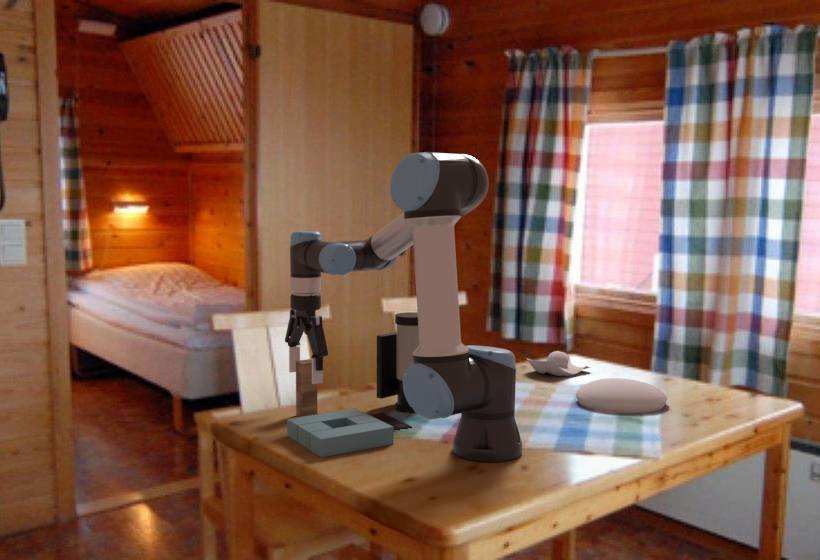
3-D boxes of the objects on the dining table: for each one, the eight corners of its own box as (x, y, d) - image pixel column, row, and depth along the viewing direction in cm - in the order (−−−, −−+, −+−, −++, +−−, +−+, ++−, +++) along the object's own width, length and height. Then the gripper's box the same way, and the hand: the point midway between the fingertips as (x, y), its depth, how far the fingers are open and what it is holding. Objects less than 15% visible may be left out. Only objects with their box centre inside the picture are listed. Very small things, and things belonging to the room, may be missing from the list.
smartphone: (356, 419, 211) (387, 434, 198) (356, 415, 211) (387, 430, 198) (382, 415, 215) (414, 429, 202) (382, 411, 215) (414, 425, 202)
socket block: (393, 444, 189) (393, 426, 189) (321, 457, 180) (320, 439, 179) (355, 424, 204) (355, 408, 204) (287, 435, 195) (286, 419, 195)
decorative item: (583, 392, 239) (569, 409, 220) (584, 368, 238) (569, 384, 220) (669, 400, 230) (662, 419, 212) (670, 376, 229) (663, 392, 211)
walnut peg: (317, 416, 211) (317, 362, 210) (302, 419, 209) (302, 363, 207) (310, 413, 215) (310, 359, 213) (296, 415, 212) (295, 360, 211)
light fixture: (405, 416, 212) (406, 319, 209) (376, 407, 220) (376, 314, 217) (438, 407, 221) (439, 314, 218) (408, 399, 228) (409, 309, 226)
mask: (596, 373, 261) (562, 369, 273) (595, 349, 261) (561, 346, 273) (550, 381, 250) (516, 376, 262) (549, 355, 250) (515, 352, 262)
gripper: (342, 299, 200) (341, 386, 202) (298, 286, 221) (298, 365, 223) (313, 301, 196) (313, 390, 198) (271, 288, 217) (272, 368, 219)
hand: (305, 377), depth 211 cm, fingers open, 13 cm apart
